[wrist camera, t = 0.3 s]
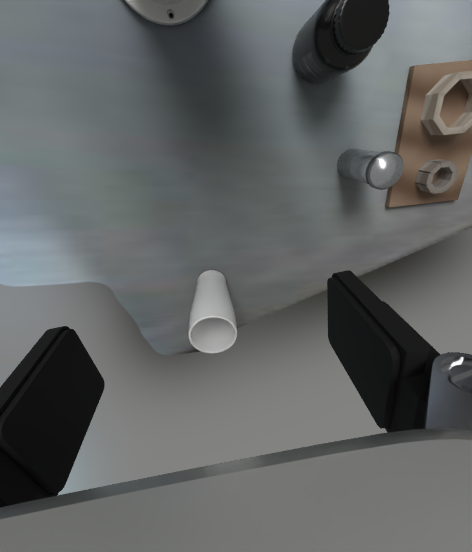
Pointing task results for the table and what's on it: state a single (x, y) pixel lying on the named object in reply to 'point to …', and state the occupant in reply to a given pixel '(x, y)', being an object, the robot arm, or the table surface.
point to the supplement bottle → (338, 37)
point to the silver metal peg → (371, 167)
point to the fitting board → (434, 134)
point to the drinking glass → (212, 314)
